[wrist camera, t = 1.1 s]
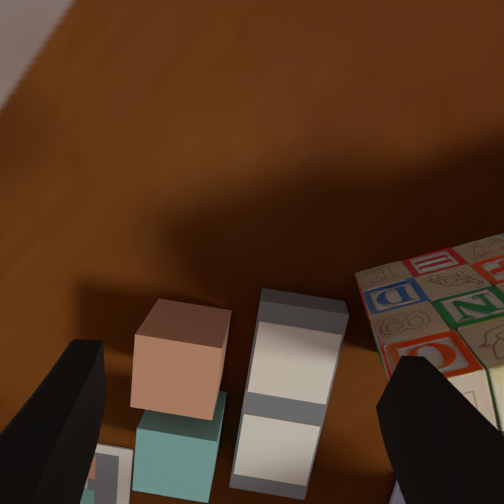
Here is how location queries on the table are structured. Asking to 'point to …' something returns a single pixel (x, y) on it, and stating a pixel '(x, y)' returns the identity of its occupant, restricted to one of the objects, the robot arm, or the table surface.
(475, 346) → the stack of blocks
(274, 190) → the table surface
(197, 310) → the salmon orange cube
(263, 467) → the base plate
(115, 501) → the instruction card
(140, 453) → the teal cube
